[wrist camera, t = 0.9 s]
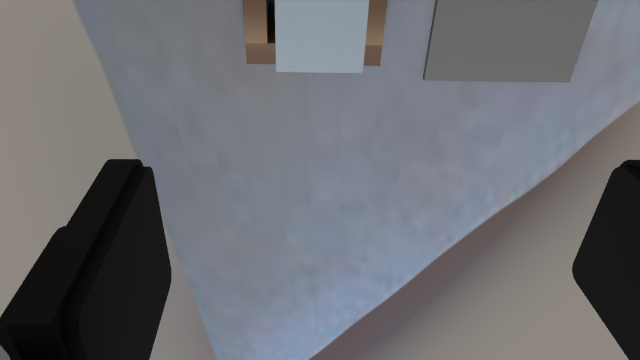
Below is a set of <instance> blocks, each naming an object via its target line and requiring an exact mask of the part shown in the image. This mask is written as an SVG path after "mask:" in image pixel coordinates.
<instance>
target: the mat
mask: <svg viewBox="0 0 640 360" xmlns="http://www.w3.org/2000/svg"><path fill="white" fill-rule="evenodd" d="M597 2H598V0H436V4H435V10H434V16H433V22H432V28H431V34H430V40H429V46H428V52H427V58H426V64H425V69H424V75H423V79H424V80H434V81H508V82H569V81H570V78H571V75H572V72H573V70H574V67H575V64H576V61H577V58H578V55H579V53H580V50H581V47H582V44H583V41H584V38H585V36H586V33H587V30H588V27H589V24H590V21H591V19H592V16H593V13H594V10H595V7H596V4H597Z"/></svg>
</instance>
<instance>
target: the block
mask: <svg viewBox="0 0 640 360" xmlns="http://www.w3.org/2000/svg"><path fill="white" fill-rule="evenodd" d="M368 9H369V0H275V42H276V72H324V73H363V65H364V53H365V42H366V31H367V20H368Z"/></svg>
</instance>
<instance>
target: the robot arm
mask: <svg viewBox="0 0 640 360" xmlns="http://www.w3.org/2000/svg"><path fill="white" fill-rule="evenodd" d="M572 271H573V277H574V279H575V281H576V283H577V284H578V286H579V287H580V289H581V290H582V292H583V293H584V294H585V296H586V297H587V299H588V300H589V302H590V303H591V305H592V306H593V308H594V309H595V310H596V312H597V313H598V315H599V316H600V318H601V319H602V321H603V322H604V324H605V325H606V327H607V328H608V330H609V331H610V333H611V334H612V335H613V337H614V338H615V340H616V341H617V343H618V344H619V346H620V347H621V348H622V350H623V351H624V353H625V355H626V356H627V357H628V359H629V360H640V160H627V161H624V162H623V163H622V164H621V165H620V167H617V168H615V169H614V170H613V172H612V174H611V176H610V178H609V180H608V183H607V185H606V188H605V190H604V192H603V194H602V197H601V199H600V201H599V204H598V206H597V208H596V211H595V213H594V216H593V218H592V220H591V223H590V225H589V227H588V230H587V232H586V234H585V237H584V239H583V241H582V244H581V246H580V248H579V251H578V253H577V256H576V258H575V260H574V263H573V267H572ZM170 284H171V266H170V260H169V255H168V249H167V245H166V239H165V234H164V228H163V222H162V217H161V212H160V206H159V201H158V195H157V190H156V185H155V179H154V174H153V170H152V168H151V167H143V164H142V162H141V161H140V160H139V159H110V160H108V161H107V162H106V163H105V164H104V166H103V168H102V169H101V171H100V172H99V174H98V176H97V177H96V179H95V181H94V182H93V184H92V185H91V187H90V189H89V190H88V192H87V193H86V195H85V197H84V198H83V200H82V201H81V203H80V205H79V206H78V208H77V209H76V211H75V213H74V214H73V216H72V217H71V219H70V221H69V222H68V224H67V225H66V226H63V227H61V228H59V229H58V230H57V231H56V232H55V233H54V235H53V236H52V238H51V239H50V241H49V242H48V244H47V246H46V247H45V249H44V250H43V252H42V253H41V255H40V256H39V258H38V260H37V261H36V263H35V264H34V266H33V268H32V269H31V270H30V272H29V274H28V275H27V277H26V278H25V280H24V281H23V283H22V285H21V286H20V288H19V289H18V291H17V292H16V294H15V295H14V297H13V298H12V300H11V302H10V303H9V305H8V306H7V308H6V309H5V311H4V312H3V314H2V316H1V317H0V360H149V358H150V355H151V351H152V348H153V344H154V341H155V337H156V334H157V330H158V327H159V323H160V320H161V316H162V313H163V309H164V306H165V302H166V299H167V295H168V292H169V288H170Z"/></svg>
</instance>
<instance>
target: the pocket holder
mask: <svg viewBox="0 0 640 360" xmlns="http://www.w3.org/2000/svg"><path fill="white" fill-rule="evenodd" d="M243 2H244V21H245V39H246V57H247V64H276V42H275V30H269V10H268V0H243ZM386 6H387V0H369V9H368V20H367V31H366V42H365V53H364V66H380V61H381V52H382V43H383V34H384V25H385V15H386Z"/></svg>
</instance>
